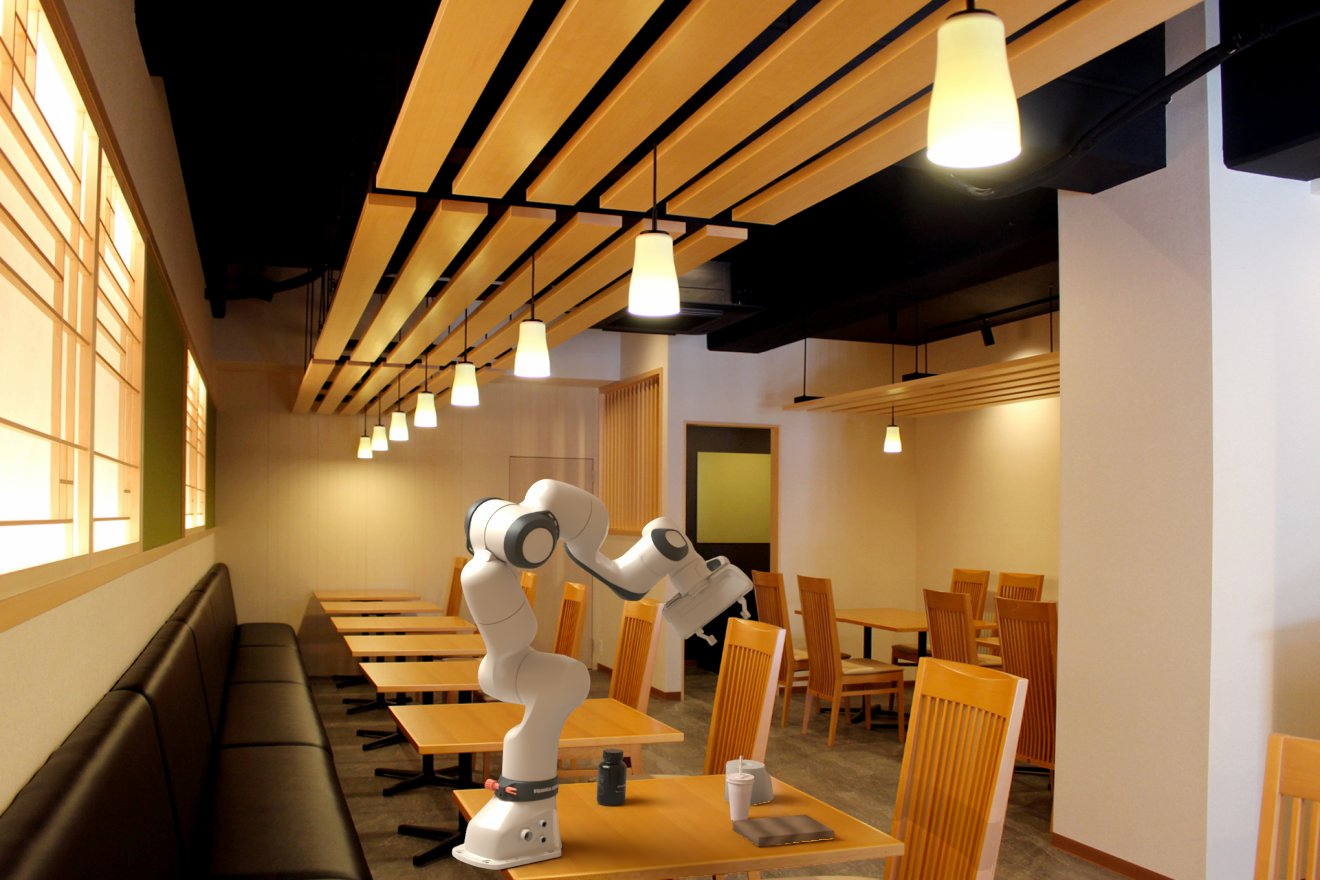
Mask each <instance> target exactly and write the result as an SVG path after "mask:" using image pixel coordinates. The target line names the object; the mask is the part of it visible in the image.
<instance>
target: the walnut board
mask: <svg viewBox="0 0 1320 880" xmlns="http://www.w3.org/2000/svg"><path fill="white" fill-rule="evenodd" d="M732 831H733V832H735V833H737V835H739V834H740V835H739V836H741V835H742V836H743V838H744V837H745V838H747V839H748V840H749V842H750V841H751V842H753V843H754V844H756V845H757V846H758V847H757V846H756V845H755V846H756V847H757V848H760V847H759V846H766V847H769V846H768V845H776V846H778V845H777V844H785V843H793V842H802V841H811V840H819V839H830V838H834V839H835V830H834V829H833V828H831V827H829V826H827V825H826V824H823V823H822V822H821V821H818V820H816V819H815V818H813V817H811V816H809V815H807V814H796V815H795V814H794V815H785V816H784V815H783V816H774V817H763V818H762V817H761V818H748V819H747V820H736V821H732ZM742 836H741V837H742ZM745 838H744V839H745ZM747 839H746V840H747ZM748 840H747V841H748ZM751 842H750V843H751ZM753 843H752V844H753ZM754 844H753V845H754Z"/></svg>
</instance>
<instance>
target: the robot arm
mask: <svg viewBox="0 0 1320 880" xmlns="http://www.w3.org/2000/svg"><path fill="white" fill-rule="evenodd" d="M609 528H610V514H609V509H607V507H606V504H605V503H604V502H603V501H602V500H601V499H600V498H599V497H598V496H596V495H595V494H593V493H591V492H589V491H587V490H584V489H582V488H579V487H577V486H576V485H573V484H570V483H567V482H564V481H561V480H556V479H551V478H544V479H540V480H538V481H536V482H535V483H533V484H532V485H531V487H529V489H528V490H527V492H526V494H525V497H524V500H523V501H521V502H520V503H515V502H512V501H508V500H506V499H503V498H501V497H496V496H491V497H490V496H489V497H483V498H479V499H477V500H476V501H474V502H473V503H472V504H471V505H470V506H469V508H468V509H467V511H466V514H465V517H464V534H465V537H466V540H465V541H466V542H465V547H466V550H467V552H468V553H469V554H470V555H472V556H473V558H471V560H469V561H468V562H467V563H466V564H465V565H464V567H463V569H462V570H461V573H460V582H461V583H460V584H461V589H462V592H463V595H464V599H465V603H466V605H467V608H468V609H469V612H470V614H471V617H472V618H473V621H474V623H475V625H476V628H477V629H478V631H479V634H480V636H481V638H482V640H483V642H484V646H485V649H486V655H485V656H484V657H483V658H482V659H481V661H480V664H479V666H478V671H477V678H478V684H479V687H480V690H481V691H482V692H483V693H484V694H485V695H487V696H489V697H491V698H493V699H496V700H499V701H501V702H504V703H510V704H517V705H522V706H525V710H524V714H523V717H522V719H521V722H520V723H519V724H517V725H515V726H513V727H512V728H511V729H510V730H508V731H507V732H506V733H505V735H504V738H503V742H502V743H503V745H502V746H503V747H502V748H503V749H502V766H501V767H502V768H501V769H502V770H501V771H502V772H501V773H500V776H499V778H498V779H497V780H493V779H491V778H488V779H487V780H486V782H484V788H485V789H486V790H489V791H492V792H493V794H494V795H493V796H492V798H490V800H489V801H488V802H487V803H486V804H485V805H484V806H483V807H482V808H481V809H480V810H479V811H478V812H477V814H475V815H474V816H473V817H472V818H471V819H470V820H469V822H468V824H467V827H466V831H465V832H466V833H465V838H464V842H463V843H462V844H459V845H457V846H454V847H453V848H452V851H451V853H452V856H453V857H454V858H456V859H457V860H458V861H461V862H463V863H465V864H467V865H471V866H474V867H478V868H480V869H481V868H483V869H487V870H498V871H499V870H503V869H507V868H508V869H509V868H512V867H518V866H522V865H523V866H524V865H527V864H531V863H532V864H533V863H537V862H540V861H546V860H551V859H555V858H559V857H561V856H562V847H563V844H562V840H561V834H560V830H559V829H560V827H559V814H558V807H557V806H558V805H557V795H558V794H559V787H560V785H559V784H560V783H559V779H560V778H559V775H558V772H557V770H558V758H559V757H558V755H559V746H560V745H559V743H560V738H561V734H562V731H563V729H564V725H565V723H566V722H567V720H568V719H569V717H570V715H571V714H572V713H573V712H574V711H575V710H576V709H577V708H579V707H580V706H582V704H583V703H584V702H585V701H586V699H587V698H588V696H589V693H590V689H591V675H590V672H589V670H588V667H587V666H586V664H585V663H584V662H582V661H580V660H578V659H576V658H573V657H570V656H568V655H565V654H561V653H560V654H559V653H551V652H545V651H544V652H543V651H539V650H536V649H534V648H533V647H532V646H531V645H530V644H531V643H532V642H533V641H534V639H535V637H536V635H537V632H538V628H539V625H538V623H539V622H538V620H537V618H536V616H535V613H534V611H533V609H532V606H531V605H530V602H529V600H528V597H527V595H526V593H525V591H524V589H523V587H522V585H521V583H520V581H519V577H518V568H520V569H527V570H529V569H530V570H531V569H532V570H533V569H538V568H540V567H542V566H543V565H544V564H545V563H547V562H548V560H549V559H550V558H551V556H553V554H554V551H555V549H556V546H557V544H558V541H559V540H561V541H563V542H564V543H563V547H564V550H565V553H566V554H567V556H568V557H569V558H570V560H571V561H572V562H573V563H575V564H576V565H577V566H579V567H580V568H581V569H583V570H584V571H586V572H587V573H588V574H590V575H591V576H593V578H595V579H597V580H598V581H600V582H601V583H603V585H605V586H607V587H608V588H609V589H610V590H611V591H612V592H613V593H614V594H615V595H616V596H617V597H618V598H620V599H621V600H624V601H627V602H639V601H641V600H643V598H644V597H645V596H646V595H647V594H648V593H650V591H651V590H652V589H653V588H654V587H655V586H656V585H658V583H659V582H660V581H661V580H663V579H664V578H665V577H666V576H667V575H668V577H669V580H670V582H671V583H672V585H673V586H674V588H675V589H676V591H678V592H677V593H676V594H675V595H674V596H672V597H671V598H670V599H669V600H667V601H666V602H664V604H663V607H662V609H661V614H662V616H663V618H664V620H666V622H667V623H668V622H669V623H670V624H671V626H672V628H673V630H674V632H675V633H676V635H677V636H678V638H679V639H682V640H687V639H689V638H690V637H692V636H693V635H694V634H696V636H697V637H700V638H701V639H703V640H706V641H707V642H708V644H709V645H710V646H711V647H712V646H714V645H715V644H716V643H717V642H718V640H717V639H716V638H715V636H714V635H713V634H711V635H709V636H708V635H706V634H704V632H705V631H704V630H703V627H705V625H707V624H709V623H710V622H711V621H712V620H714V619H715V618H716V617H718V616H719V615H721V614H722V613H723V612H725V610H727V609H729V607H730V608H731V606H732V605H733V604H735V603H736V602H738V604H740V605H741V606H742V607H741V608H742V611H741V612H740V613H739V614H740V615H741V616H742V618H743V619H744V620H745V621H746V620H748V619H749V618H751V613H750V612H749V611H748V608H747V600H746V598H745V597H744V596H745V595H747V594H748V593H749V592H750V591H752V590H753V589H754V583H753V581H752V580H751V579H750V578H749V576H748V575H747V574H746V573H744V572H743V570H742V569H740V568H739V567H738V566H736V565H734V564H731V561H730V560H729V558H728V557H726V556H724V555H719V556H716V557H713V558H711V559H709V560H705V559H704V558H703V557H702V556H701V555H700V554H699V553H697V551H696V550H695V548H694V546H693V542H692V541H691V540H690V538H689V537H688V536H687V535H686V534H685V532H684V531H683V530H682V528H680V527H679V526H678V525H677V524H676V522H674V521H673V520H672V519H671V518H670V517H668V516H660V517H657V518H654V519H652V520H651V521H649V522H648V523H647V524H646V525H645V526H644V527H643V529H642V531H641V536H642V537H641V538H640V539H639V540H638V541H637V542H636V543H635V544H634V545H633V546H632V547H630V548H629V550H627V551H626V552H625V553H624V554H623V555H621V556H620V557H618V558H615V559H610V558H609V557H607V556H606V555H605V554H603V553H602V552H600V551H599V550H600V549H601V546H602V545H603V544H604V542H605V541H606V539H607V537H608V534H609V530H610V529H609Z"/></svg>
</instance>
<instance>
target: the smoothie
mask: <svg viewBox="0 0 1320 880" xmlns="http://www.w3.org/2000/svg"><path fill="white" fill-rule="evenodd" d="M739 760H740V770H739V773H730V774H728V775H727V779H726V778H725V780H726V781H728V791H729V812H730V821H732V820H733V821H736V820H747V819H749V813H750V807H751V806H750V800H751V793H752V786H753V783H754V782H755V781H754V776H753V775H750V774H746V773H742V760H743V755H739ZM733 821H732V822H733Z"/></svg>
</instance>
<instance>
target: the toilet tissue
mask: <svg viewBox="0 0 1320 880" xmlns="http://www.w3.org/2000/svg"><path fill="white" fill-rule="evenodd" d="M739 770H740V759H733V760H727V762H726V763H725V781H724V782H725V783H724V784H725V789H724V801H725V800H727V801H729V791H728V781H726V779H727V775H728V774H730V773H739ZM742 773H746V774H750V775H753V776H754V781H755V782H754V783H753V786H752V793H751V800H750V805H754V804H759V803H763V802H768V801H771V800H773V799H774V800H775V796H774V789H773V784H772V778H771V775H770V774H769V772H768V771H767V770H766V765H765V763H763V762H760V761H757V760H752V759H742ZM774 800H773V801H774ZM727 801H726V802H727ZM771 802H772V801H771Z"/></svg>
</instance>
